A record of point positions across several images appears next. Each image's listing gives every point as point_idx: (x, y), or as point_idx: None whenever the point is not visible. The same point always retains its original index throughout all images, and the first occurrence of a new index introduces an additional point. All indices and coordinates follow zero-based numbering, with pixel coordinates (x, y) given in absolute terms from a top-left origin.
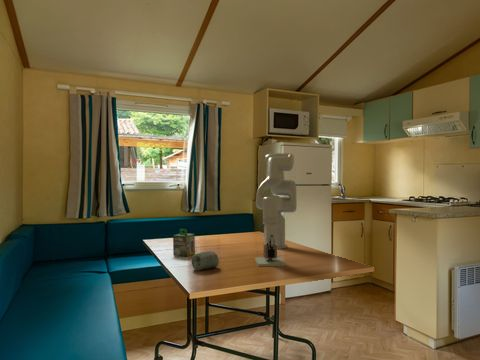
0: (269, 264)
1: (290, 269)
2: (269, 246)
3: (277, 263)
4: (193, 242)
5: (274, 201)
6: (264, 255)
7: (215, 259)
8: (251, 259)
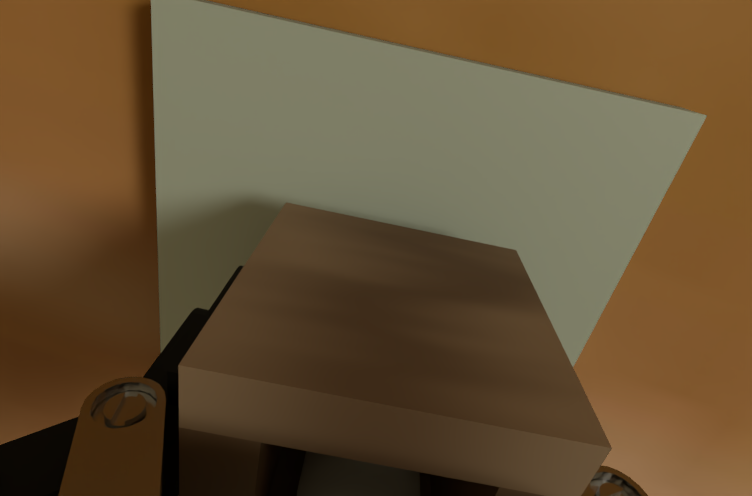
0: (163, 198)
1: (7, 360)
2: (70, 468)
3: (160, 312)
4: None
5: None
6: (383, 240)
7: None
8: (743, 39)
